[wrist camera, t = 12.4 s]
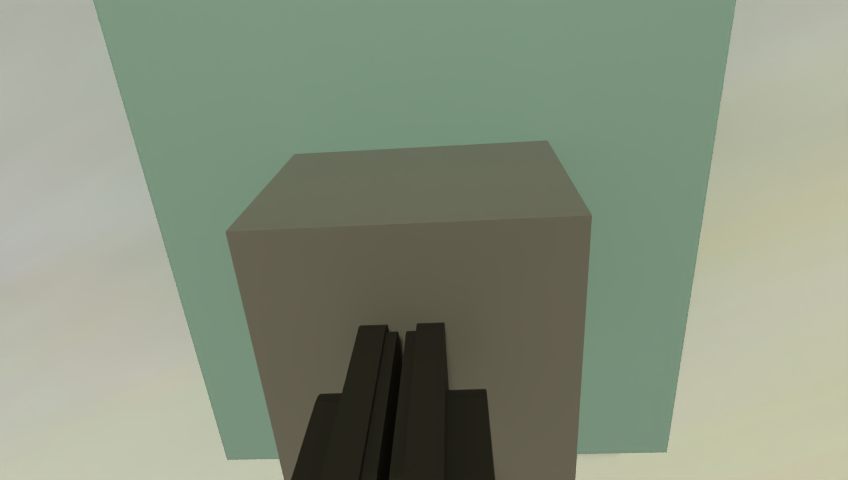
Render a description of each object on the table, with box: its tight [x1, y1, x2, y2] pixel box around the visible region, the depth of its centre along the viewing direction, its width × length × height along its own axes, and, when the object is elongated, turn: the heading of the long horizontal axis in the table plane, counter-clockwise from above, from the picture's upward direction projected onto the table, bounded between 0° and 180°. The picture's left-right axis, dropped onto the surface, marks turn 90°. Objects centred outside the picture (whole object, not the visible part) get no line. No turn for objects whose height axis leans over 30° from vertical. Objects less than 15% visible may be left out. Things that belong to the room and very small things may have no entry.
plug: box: [226, 140, 592, 480], centre depth 15 cm, size 7×7×9 cm
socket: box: [93, 0, 736, 460], centre depth 18 cm, size 15×15×4 cm
